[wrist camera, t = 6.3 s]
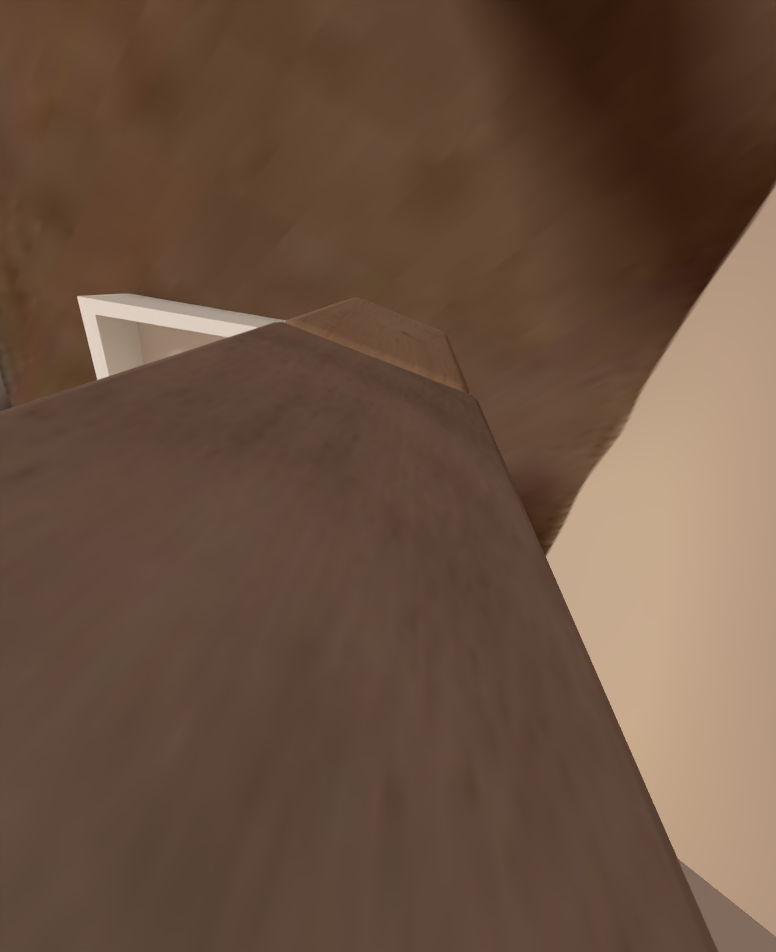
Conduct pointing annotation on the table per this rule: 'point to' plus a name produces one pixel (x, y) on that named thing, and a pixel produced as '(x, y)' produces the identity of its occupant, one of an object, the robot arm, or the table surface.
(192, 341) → the tray
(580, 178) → the table surface
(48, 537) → the brown rod with wedge
